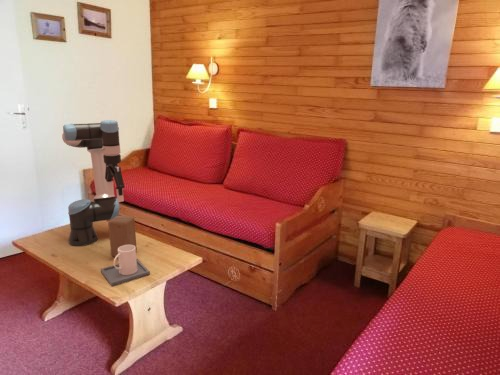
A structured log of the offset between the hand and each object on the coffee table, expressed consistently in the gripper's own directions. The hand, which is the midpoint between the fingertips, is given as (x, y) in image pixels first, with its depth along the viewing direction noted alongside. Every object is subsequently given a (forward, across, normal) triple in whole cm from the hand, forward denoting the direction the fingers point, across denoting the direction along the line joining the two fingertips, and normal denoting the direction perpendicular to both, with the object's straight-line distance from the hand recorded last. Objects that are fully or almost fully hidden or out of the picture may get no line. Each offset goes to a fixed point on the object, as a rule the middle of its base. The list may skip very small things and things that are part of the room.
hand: (115, 198), depth 178 cm
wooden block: (+35, -10, +5) cm, 37 cm away
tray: (+35, +11, -2) cm, 36 cm away
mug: (+34, +11, -2) cm, 36 cm away
